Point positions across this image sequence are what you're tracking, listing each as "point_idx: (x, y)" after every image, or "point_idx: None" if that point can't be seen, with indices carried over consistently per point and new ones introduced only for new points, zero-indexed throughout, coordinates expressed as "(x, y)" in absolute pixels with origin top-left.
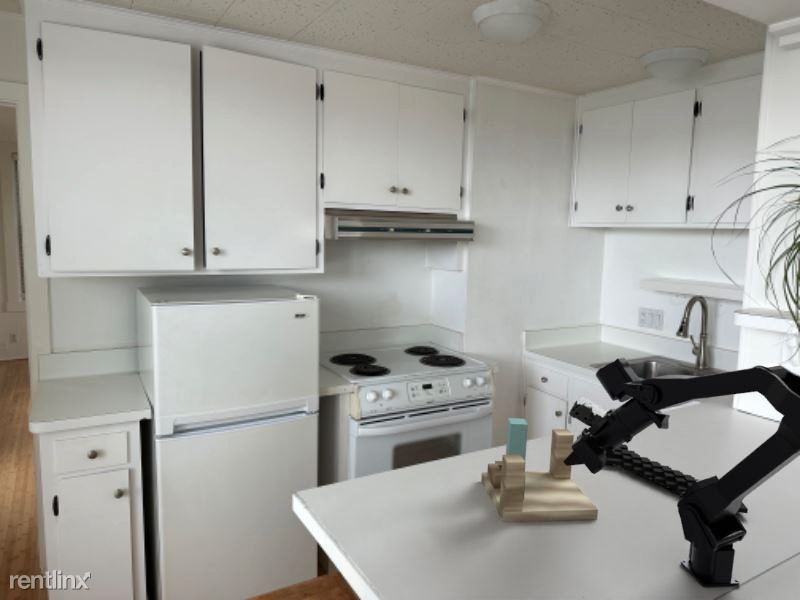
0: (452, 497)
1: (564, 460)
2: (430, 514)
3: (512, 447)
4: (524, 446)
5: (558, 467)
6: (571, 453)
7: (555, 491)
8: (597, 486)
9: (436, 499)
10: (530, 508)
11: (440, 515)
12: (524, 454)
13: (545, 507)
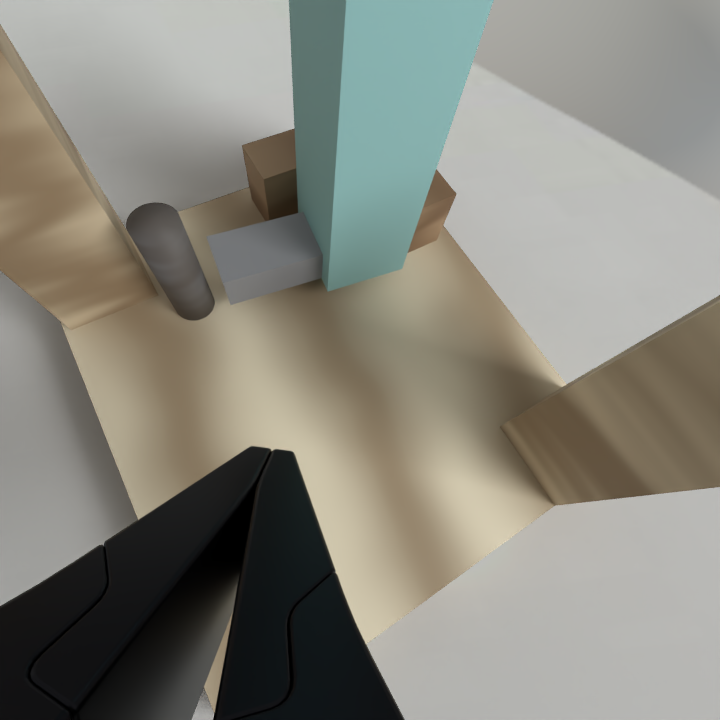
0: (201, 115)
1: (239, 453)
2: (53, 81)
3: (297, 49)
4: (332, 100)
5: (540, 423)
6: (116, 534)
7: (354, 449)
8: (634, 660)
9: (167, 80)
10: (109, 360)
11: (54, 105)
12: (332, 162)
13: (146, 426)
